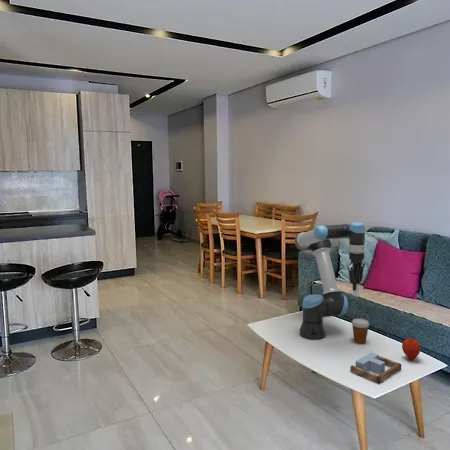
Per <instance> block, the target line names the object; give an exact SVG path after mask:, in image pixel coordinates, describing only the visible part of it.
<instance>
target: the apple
mask: <svg viewBox="0 0 450 450" xmlns="http://www.w3.org/2000/svg"><path fill="white" fill-rule="evenodd" d="M401 348H402V351H403V353H404V355H405V356H406V357H407V359H408V360H410V361H414V360H415V359H416V358H417V357H418V356H419V354H420V353H421V348H422V347H421V345H420V343H419V342H418V340H416V339H413V338H406V339H404V340H403V341H402V344H401Z"/></svg>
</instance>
